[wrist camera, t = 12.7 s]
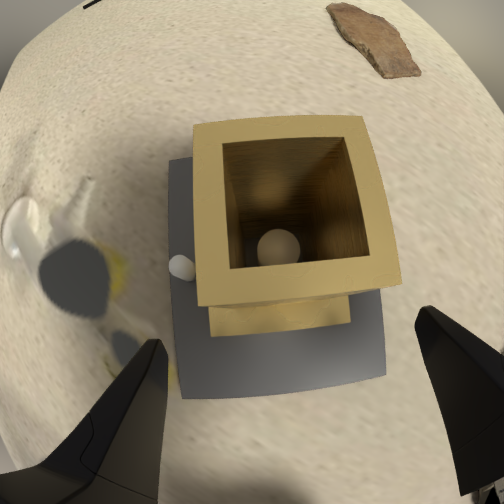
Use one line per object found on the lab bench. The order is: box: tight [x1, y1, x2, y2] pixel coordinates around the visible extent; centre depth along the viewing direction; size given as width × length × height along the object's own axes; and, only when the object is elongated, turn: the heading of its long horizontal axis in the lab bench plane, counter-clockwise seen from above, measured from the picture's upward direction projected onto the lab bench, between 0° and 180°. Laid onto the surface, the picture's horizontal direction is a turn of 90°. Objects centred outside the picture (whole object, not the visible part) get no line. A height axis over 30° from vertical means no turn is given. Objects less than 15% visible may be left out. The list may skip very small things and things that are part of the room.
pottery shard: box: [326, 3, 421, 79], centre depth 23 cm, size 8×16×2 cm, turn 6°
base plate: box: [168, 157, 386, 399], centre depth 16 cm, size 16×13×5 cm
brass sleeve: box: [193, 115, 402, 337], centre depth 12 cm, size 8×8×10 cm
